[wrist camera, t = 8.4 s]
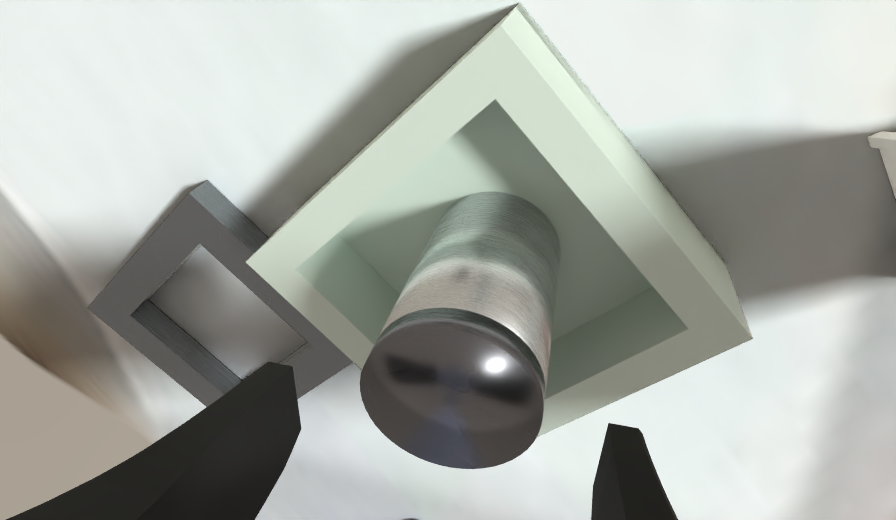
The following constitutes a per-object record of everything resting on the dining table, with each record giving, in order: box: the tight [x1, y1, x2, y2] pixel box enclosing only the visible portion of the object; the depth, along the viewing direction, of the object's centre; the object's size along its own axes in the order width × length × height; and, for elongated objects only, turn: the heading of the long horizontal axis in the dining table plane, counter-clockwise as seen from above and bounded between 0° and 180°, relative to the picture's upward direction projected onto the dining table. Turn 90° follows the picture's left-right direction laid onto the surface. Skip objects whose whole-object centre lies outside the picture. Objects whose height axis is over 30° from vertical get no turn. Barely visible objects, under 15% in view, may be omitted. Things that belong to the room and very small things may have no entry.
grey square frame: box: [88, 180, 353, 407], centre depth 25 cm, size 9×9×1 cm
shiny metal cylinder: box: [360, 191, 560, 469], centre depth 17 cm, size 4×4×7 cm
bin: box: [246, 3, 753, 437], centre depth 19 cm, size 11×11×4 cm
